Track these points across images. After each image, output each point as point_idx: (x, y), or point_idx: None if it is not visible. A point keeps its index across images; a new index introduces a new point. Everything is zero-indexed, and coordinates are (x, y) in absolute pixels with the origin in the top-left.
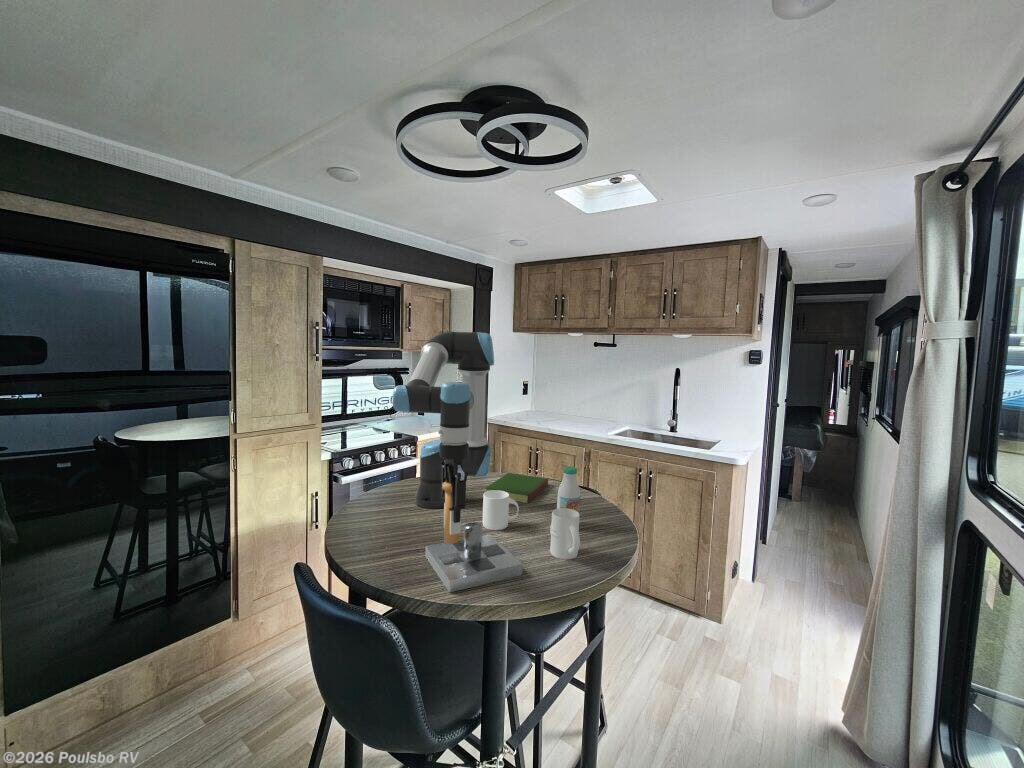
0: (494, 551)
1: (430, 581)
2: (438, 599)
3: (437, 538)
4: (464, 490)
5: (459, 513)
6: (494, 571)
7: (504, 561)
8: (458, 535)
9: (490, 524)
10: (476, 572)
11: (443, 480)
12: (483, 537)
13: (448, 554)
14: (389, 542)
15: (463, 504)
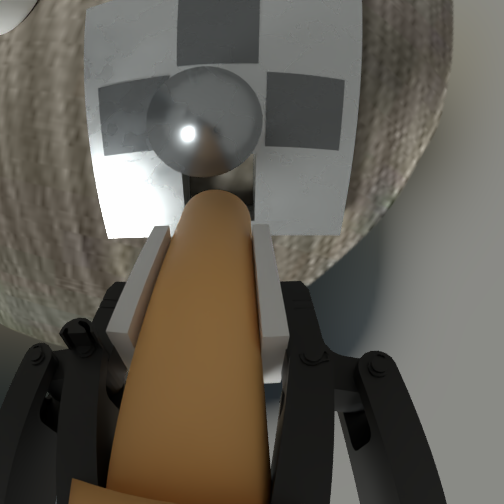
0: (234, 25)
1: None
2: (339, 247)
3: (32, 169)
4: (437, 501)
5: (318, 333)
6: (358, 93)
7: (321, 30)
8: (244, 215)
9: (21, 10)
10: (343, 150)
11: (54, 495)
12: (99, 34)
13: (182, 187)
14: (49, 277)
15: (397, 394)
